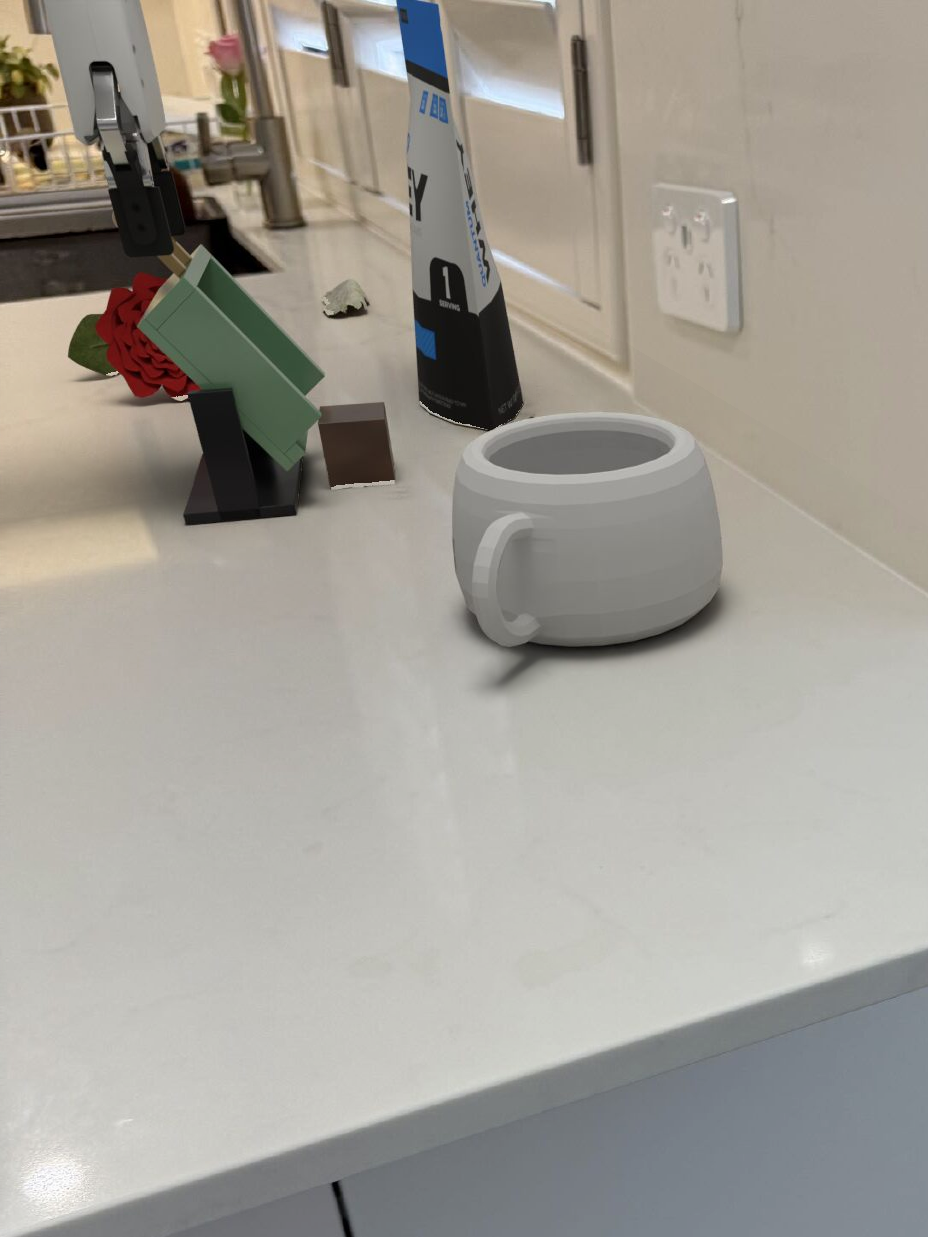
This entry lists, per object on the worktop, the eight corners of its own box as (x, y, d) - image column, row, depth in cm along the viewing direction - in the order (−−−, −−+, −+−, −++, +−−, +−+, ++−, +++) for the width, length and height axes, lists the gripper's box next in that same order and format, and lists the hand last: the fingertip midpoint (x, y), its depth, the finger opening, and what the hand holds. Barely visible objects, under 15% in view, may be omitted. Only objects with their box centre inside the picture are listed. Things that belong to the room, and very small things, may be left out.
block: (384, 419, 103) (395, 485, 106) (384, 401, 107) (394, 466, 110) (317, 423, 102) (330, 490, 105) (319, 406, 106) (332, 471, 109)
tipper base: (185, 525, 99) (150, 396, 94) (204, 462, 111) (174, 345, 106) (296, 515, 101) (268, 387, 95) (303, 454, 113) (278, 337, 107)
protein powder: (497, 363, 135) (450, -6, 117) (547, 427, 117) (502, 1, 99) (402, 373, 133) (339, -2, 115) (439, 440, 115) (371, 7, 96)
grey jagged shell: (320, 296, 162) (332, 262, 160) (358, 316, 164) (371, 283, 162) (323, 322, 153) (336, 287, 151) (363, 343, 155) (377, 308, 154)
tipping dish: (67, 260, 89) (115, 207, 88) (97, 228, 99) (140, 180, 98) (287, 472, 100) (332, 427, 99) (294, 424, 110) (334, 383, 109)
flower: (198, 263, 147) (209, 254, 122) (238, 370, 152) (257, 382, 128) (52, 299, 143) (33, 298, 119) (99, 407, 149) (90, 427, 124)
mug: (540, 545, 94) (522, 394, 88) (763, 572, 89) (761, 414, 83) (367, 670, 79) (331, 498, 72) (625, 712, 74) (610, 530, 67)
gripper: (39, -68, 90) (118, 229, 101) (-14, -72, 77) (82, 271, 88) (156, -70, 92) (221, 223, 102) (123, -74, 78) (202, 264, 89)
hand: (157, 243), depth 95 cm, fingers closed on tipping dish, 7 cm apart
